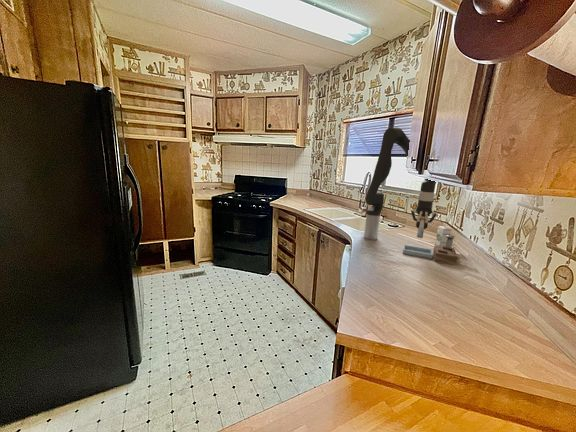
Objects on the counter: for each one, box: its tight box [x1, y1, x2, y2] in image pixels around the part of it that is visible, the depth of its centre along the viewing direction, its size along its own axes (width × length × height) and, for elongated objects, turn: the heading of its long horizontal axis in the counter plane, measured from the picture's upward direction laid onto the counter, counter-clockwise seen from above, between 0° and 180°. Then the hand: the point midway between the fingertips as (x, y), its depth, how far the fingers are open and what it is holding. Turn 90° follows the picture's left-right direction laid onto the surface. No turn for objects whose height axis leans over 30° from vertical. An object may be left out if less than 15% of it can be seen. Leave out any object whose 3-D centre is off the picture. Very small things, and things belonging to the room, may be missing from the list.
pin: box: [445, 234, 456, 250], centre depth 144 cm, size 4×4×13 cm
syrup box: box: [434, 225, 453, 246], centre depth 158 cm, size 6×6×14 cm
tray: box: [402, 244, 434, 260], centre depth 149 cm, size 10×15×2 cm
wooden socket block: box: [432, 244, 458, 266], centre depth 142 cm, size 16×10×5 cm, turn 153°
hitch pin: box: [416, 216, 426, 239], centre depth 145 cm, size 4×4×13 cm
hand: (421, 228), depth 145 cm, fingers closed on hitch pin, 3 cm apart
